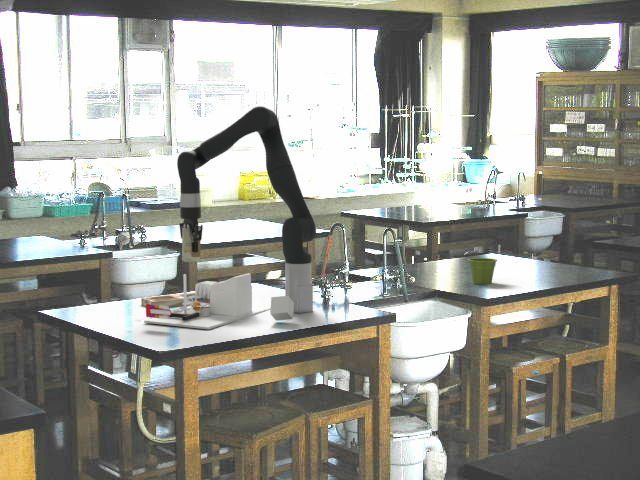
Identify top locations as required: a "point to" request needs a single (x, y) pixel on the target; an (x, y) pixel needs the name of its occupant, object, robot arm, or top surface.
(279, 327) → the top surface
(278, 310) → the grey cube
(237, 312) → the electronics kit
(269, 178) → the robot arm
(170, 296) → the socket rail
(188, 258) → the skincare box
